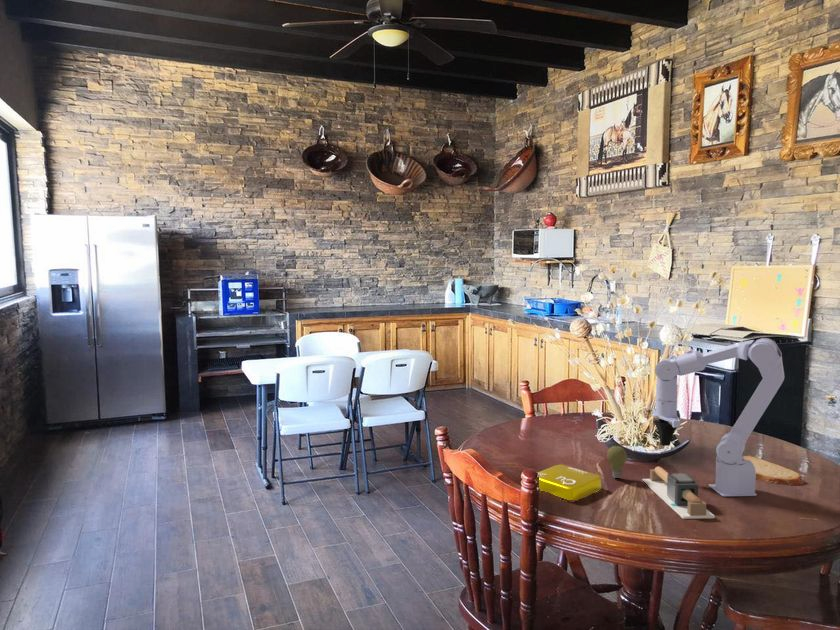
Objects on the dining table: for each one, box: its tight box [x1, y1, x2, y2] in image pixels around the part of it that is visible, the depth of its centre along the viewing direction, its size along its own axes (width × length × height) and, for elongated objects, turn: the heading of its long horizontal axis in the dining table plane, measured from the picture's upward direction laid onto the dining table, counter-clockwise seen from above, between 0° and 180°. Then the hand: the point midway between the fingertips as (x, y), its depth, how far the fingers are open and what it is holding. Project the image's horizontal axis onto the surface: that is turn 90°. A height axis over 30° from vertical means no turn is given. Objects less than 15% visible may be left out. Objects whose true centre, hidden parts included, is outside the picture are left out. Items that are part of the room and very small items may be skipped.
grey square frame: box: [675, 482, 699, 505], centre depth 154 cm, size 1×5×5 cm, turn 91°
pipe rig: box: [642, 466, 716, 520], centre depth 160 cm, size 26×8×5 cm, turn 1°
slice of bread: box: [743, 455, 804, 486], centre depth 178 cm, size 18×18×4 cm
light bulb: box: [606, 445, 628, 479], centre depth 175 cm, size 6×6×10 cm
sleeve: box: [667, 473, 696, 502], centre depth 157 cm, size 5×5×6 cm
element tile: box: [537, 463, 602, 500], centre depth 168 cm, size 15×15×5 cm
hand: (665, 445), depth 173 cm, fingers closed
